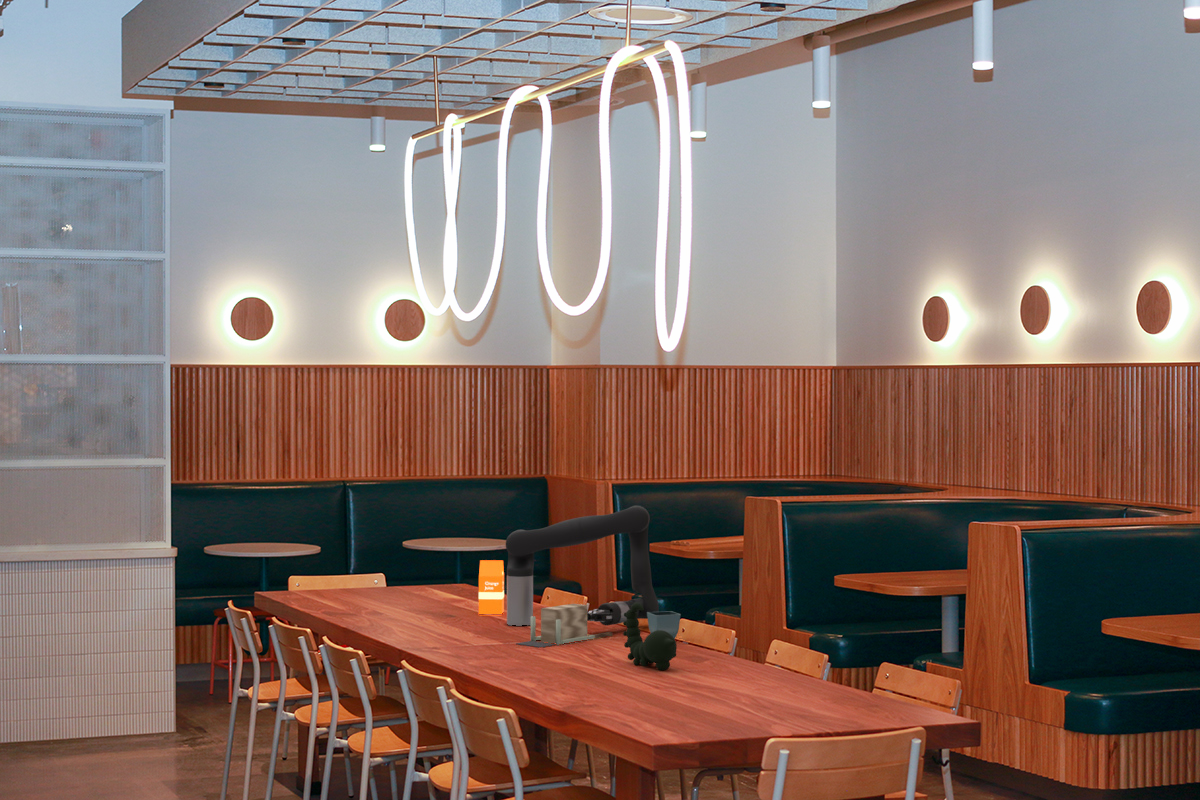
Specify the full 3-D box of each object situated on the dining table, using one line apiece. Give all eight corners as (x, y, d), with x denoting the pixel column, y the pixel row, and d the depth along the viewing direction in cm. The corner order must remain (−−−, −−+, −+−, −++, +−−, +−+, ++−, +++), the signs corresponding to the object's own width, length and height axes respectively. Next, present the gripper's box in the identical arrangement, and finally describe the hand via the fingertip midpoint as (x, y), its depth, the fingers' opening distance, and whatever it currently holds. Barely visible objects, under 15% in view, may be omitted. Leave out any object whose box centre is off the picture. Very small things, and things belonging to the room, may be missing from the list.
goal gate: (566, 635, 457) (566, 611, 457) (594, 639, 449) (594, 614, 449) (529, 641, 443) (529, 616, 444) (558, 645, 435) (558, 620, 435)
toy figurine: (616, 667, 404) (661, 673, 382) (614, 603, 406) (658, 604, 384) (644, 665, 409) (689, 670, 387) (641, 601, 411) (686, 602, 389)
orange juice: (502, 615, 506) (502, 561, 507) (478, 615, 507) (478, 561, 507) (504, 612, 514) (504, 559, 515) (480, 612, 514) (480, 559, 515)
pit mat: (530, 641, 443) (530, 640, 443) (556, 645, 436) (556, 644, 436) (515, 644, 437) (515, 643, 437) (541, 647, 430) (541, 646, 430)
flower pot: (646, 639, 449) (646, 611, 449) (671, 638, 452) (671, 610, 452) (655, 643, 441) (655, 615, 441) (681, 642, 443) (681, 614, 443)
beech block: (573, 636, 455) (573, 603, 455) (587, 638, 451) (587, 605, 451) (540, 642, 442) (541, 608, 443) (554, 644, 438) (554, 609, 439)
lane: (583, 632, 464) (583, 628, 464) (612, 636, 456) (612, 632, 456) (566, 635, 457) (566, 631, 457) (594, 639, 449) (594, 635, 449)
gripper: (598, 600, 470) (565, 605, 457) (628, 603, 462) (595, 608, 449) (598, 622, 470) (565, 627, 457) (628, 626, 462) (595, 631, 448)
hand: (580, 618), depth 453 cm, fingers closed
